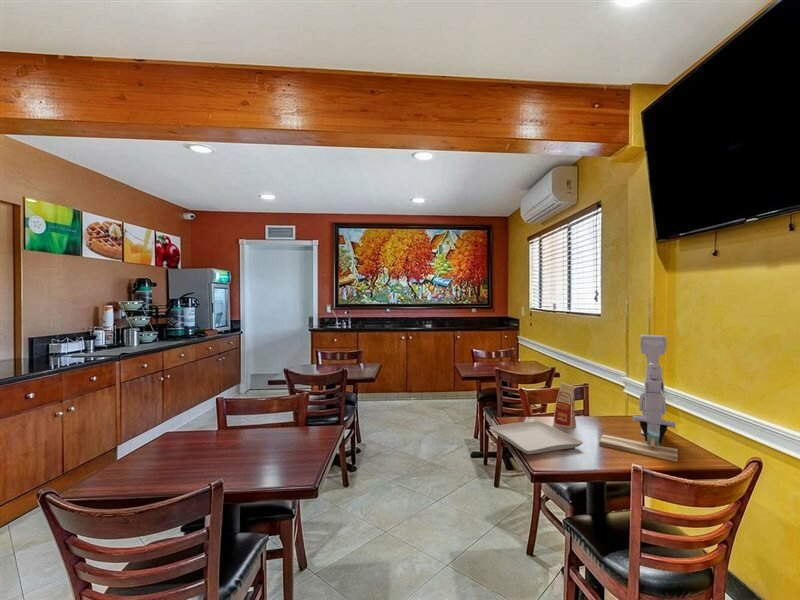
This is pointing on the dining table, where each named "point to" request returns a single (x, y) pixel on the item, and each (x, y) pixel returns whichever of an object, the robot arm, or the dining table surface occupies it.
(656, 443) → the tan post teal base
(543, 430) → the square plate
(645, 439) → the robot arm
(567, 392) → the milk carton
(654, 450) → the board
